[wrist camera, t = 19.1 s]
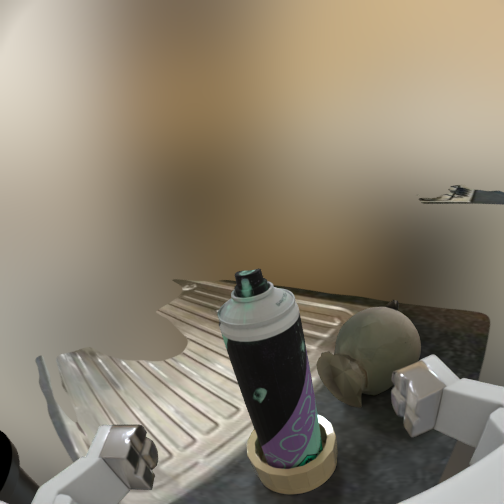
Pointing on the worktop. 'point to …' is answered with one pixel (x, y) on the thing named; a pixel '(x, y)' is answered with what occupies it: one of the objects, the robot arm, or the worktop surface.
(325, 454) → the beige base ring
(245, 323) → the spray can
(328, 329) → the worktop surface
